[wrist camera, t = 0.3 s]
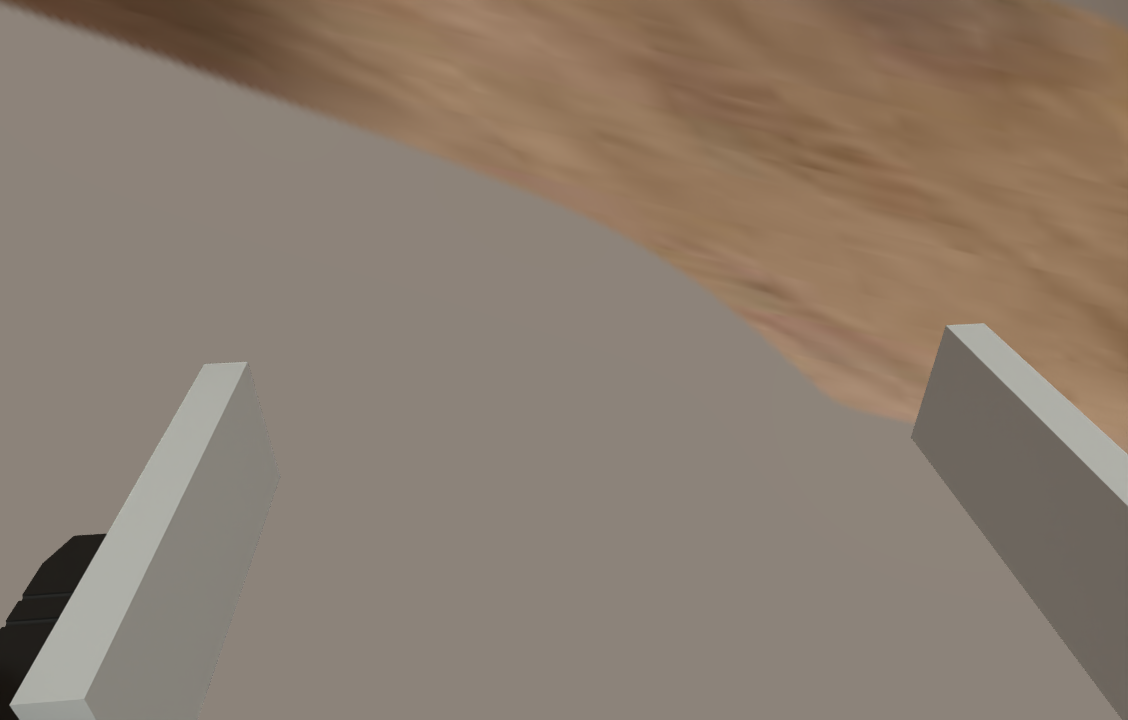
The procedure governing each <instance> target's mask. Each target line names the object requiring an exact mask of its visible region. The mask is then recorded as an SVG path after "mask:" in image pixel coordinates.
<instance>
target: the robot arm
mask: <svg viewBox="0 0 1128 720" xmlns="http://www.w3.org/2000/svg"><path fill="white" fill-rule="evenodd" d="M911 438H912V439H913V441H914V442H915V443H916V445H917V446H918V447H919V449H920V450H921V451H922V453H923V454H924V455H925V457H926V458H927V459H928V461H929V462H930V463H931V465H932V466H933V467H934V469H935V470H936V471H937V473H938V474H939V475H940V477H941V478H942V479H943V481H944V482H945V483H946V485H947V486H948V487H949V489H950V490H951V491H952V493H953V494H954V495H955V497H956V498H957V500H958V501H959V502H960V504H961V505H962V506H963V508H964V509H965V510H966V511H967V513H968V514H969V516H970V517H971V518H972V520H973V521H974V522H975V524H976V525H977V526H978V528H979V529H980V530H981V531H982V533H983V534H984V535H985V537H986V538H987V540H988V541H989V542H990V544H991V545H992V546H993V548H994V549H995V550H996V551H997V553H998V554H999V556H1000V557H1001V558H1002V560H1003V561H1004V562H1005V564H1006V565H1007V566H1008V568H1009V569H1010V570H1011V572H1012V573H1013V574H1014V576H1015V577H1016V578H1017V580H1018V581H1019V582H1020V584H1021V585H1022V586H1023V588H1024V589H1025V590H1026V592H1027V593H1028V594H1029V596H1030V597H1031V599H1032V600H1033V601H1034V603H1035V604H1036V605H1037V606H1038V608H1039V609H1040V611H1041V612H1042V613H1043V614H1044V616H1045V617H1046V619H1047V620H1048V621H1049V623H1050V624H1051V625H1052V627H1053V628H1054V629H1055V630H1056V632H1057V633H1058V635H1059V636H1060V637H1061V639H1062V640H1063V641H1064V643H1065V644H1066V645H1067V647H1068V648H1069V649H1070V651H1071V652H1072V653H1073V655H1074V656H1075V657H1076V659H1077V660H1078V661H1079V663H1080V664H1081V665H1082V667H1083V668H1084V669H1085V671H1086V672H1087V673H1088V675H1089V676H1090V677H1091V679H1092V680H1093V681H1094V683H1095V684H1096V685H1097V687H1098V688H1099V689H1100V691H1101V692H1102V694H1103V695H1104V696H1105V698H1106V699H1107V700H1108V702H1109V703H1110V704H1111V706H1112V707H1113V708H1114V710H1115V711H1116V712H1117V714H1118V715H1119V716H1120V717H1121V719H1122V720H1128V454H1127V453H1125V452H1124V451H1123V450H1122V449H1121V448H1120V447H1119V446H1118V445H1117V444H1116V443H1114V442H1113V441H1112V440H1111V439H1110V438H1109V437H1108V436H1107V435H1106V434H1105V433H1104V432H1102V431H1101V430H1100V429H1099V428H1098V427H1097V426H1096V425H1095V424H1094V423H1093V422H1091V421H1090V420H1089V419H1088V418H1087V417H1086V416H1085V415H1084V414H1083V413H1082V412H1081V411H1079V410H1078V409H1077V408H1076V407H1075V406H1074V405H1073V404H1072V403H1071V402H1070V401H1068V400H1067V399H1066V398H1065V397H1064V396H1063V395H1062V394H1061V393H1060V392H1059V391H1058V390H1056V389H1055V388H1054V387H1053V386H1052V385H1051V384H1050V383H1049V382H1048V381H1047V380H1045V379H1044V378H1043V377H1042V376H1041V375H1040V374H1039V373H1038V372H1037V371H1036V370H1035V369H1033V368H1032V367H1031V366H1030V365H1029V364H1028V363H1027V362H1026V361H1025V360H1024V359H1022V358H1021V357H1020V356H1019V355H1018V354H1017V353H1016V352H1015V351H1014V350H1013V349H1011V348H1010V347H1009V346H1008V345H1007V344H1006V343H1005V342H1004V341H1003V340H1002V339H1001V338H999V337H998V336H997V335H996V334H995V333H994V332H993V331H992V330H991V329H990V328H988V327H987V326H986V325H985V324H984V323H983V324H963V325H946V327H945V330H944V333H943V336H942V340H941V343H940V346H939V349H938V352H937V356H936V359H935V362H934V365H933V368H932V372H931V375H930V378H929V381H928V384H927V388H926V391H925V394H924V397H923V400H922V404H921V407H920V410H919V413H918V416H917V420H916V423H915V426H914V429H913V433H912V436H911ZM279 479H280V474H279V470H278V467H277V463H276V460H275V456H274V453H273V449H272V446H271V442H270V439H269V435H268V431H267V428H266V424H265V421H264V418H263V414H262V411H261V407H260V403H259V400H258V396H257V393H256V389H255V385H254V383H253V379H252V375H251V372H250V368H249V364H248V362H232V363H212V364H204V365H203V367H202V369H201V371H200V372H199V374H198V376H197V377H196V379H195V381H194V383H193V384H192V386H191V388H190V390H189V391H188V393H187V395H186V397H185V399H184V400H183V402H182V404H181V405H180V407H179V409H178V411H177V412H176V414H175V416H174V418H173V420H172V421H171V423H170V425H169V427H168V428H167V430H166V432H165V434H164V435H163V437H162V439H161V440H160V442H159V444H158V446H157V447H156V449H155V451H154V453H153V454H152V456H151V458H150V460H149V461H148V463H147V465H146V467H145V468H144V470H143V472H142V474H141V475H140V477H139V479H138V481H137V482H136V484H135V486H134V488H133V490H132V491H131V493H130V495H129V497H128V498H127V500H126V502H125V503H124V505H123V507H122V509H121V511H120V512H119V514H118V516H117V518H116V519H115V521H114V523H113V525H112V526H111V528H110V530H109V531H108V533H107V534H95V535H82V536H81V535H79V536H73V537H72V538H71V539H70V540H69V541H68V542H67V543H65V544H64V545H63V546H62V547H61V548H60V549H59V550H58V551H56V552H55V553H54V554H53V555H52V556H51V557H49V558H48V559H47V560H46V561H45V562H44V563H43V564H42V565H41V567H40V568H39V570H38V571H37V573H36V575H35V576H34V578H33V579H32V581H31V582H30V584H29V585H28V587H27V589H26V590H25V592H24V593H23V599H22V601H18V603H17V604H16V606H15V607H14V609H13V610H12V612H11V613H10V615H9V617H8V618H7V620H6V626H5V627H2V628H1V629H0V720H198V717H199V714H200V711H201V708H202V705H203V702H204V699H205V696H206V693H207V690H208V688H209V685H210V682H211V679H212V676H213V673H214V670H215V667H216V664H217V661H218V658H219V655H220V652H221V649H222V646H223V643H224V640H225V637H226V634H227V631H228V629H229V626H230V623H231V620H232V617H233V614H234V611H235V608H236V605H237V602H238V599H239V596H240V593H241V590H242V588H243V585H244V582H245V579H246V576H247V573H248V570H249V567H250V564H251V561H252V558H253V555H254V552H255V549H256V546H257V543H258V540H259V538H260V534H261V532H262V529H263V526H264V523H265V520H266V517H267V514H268V511H269V508H270V505H271V502H272V499H273V496H274V493H275V490H276V488H277V484H278V481H279Z"/></svg>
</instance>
